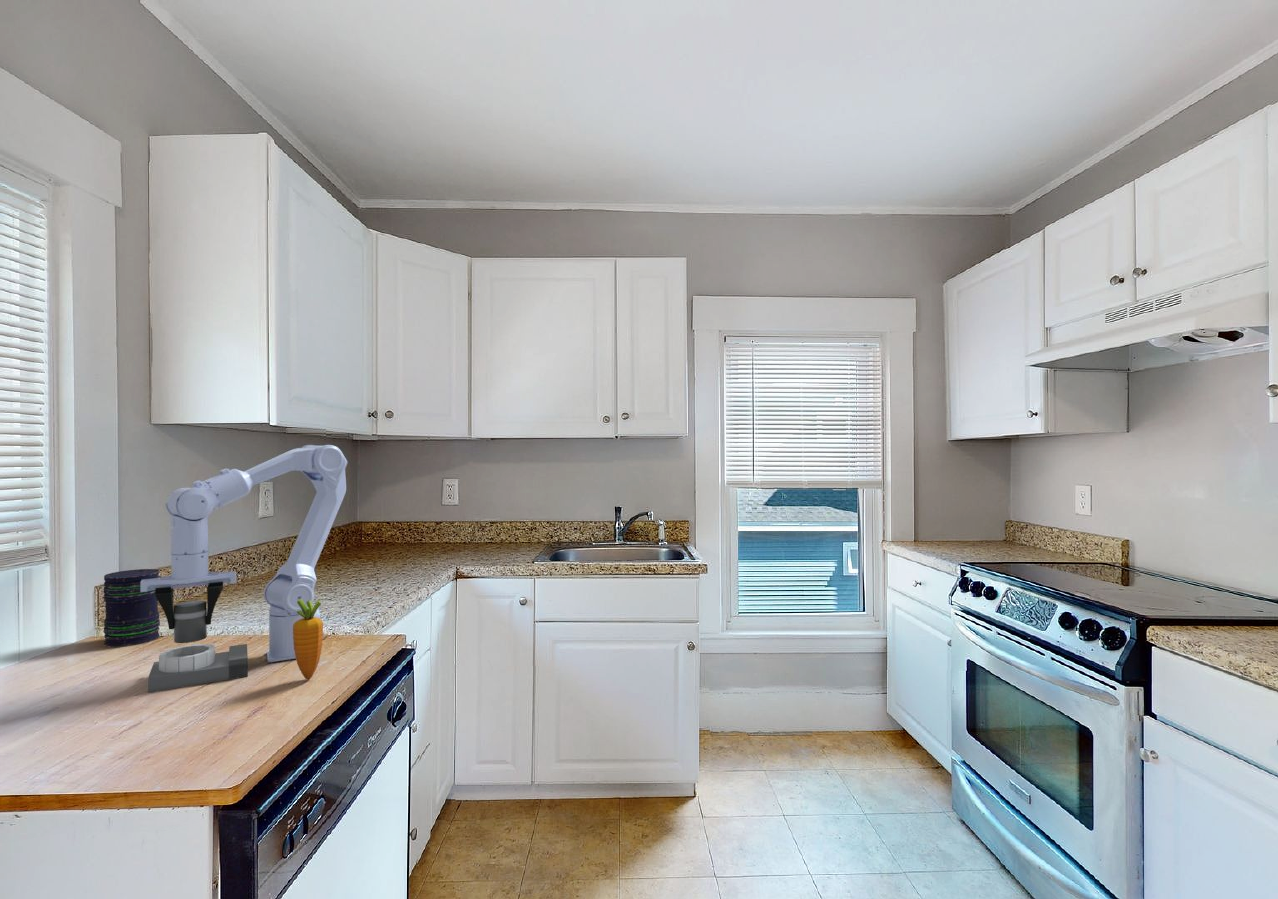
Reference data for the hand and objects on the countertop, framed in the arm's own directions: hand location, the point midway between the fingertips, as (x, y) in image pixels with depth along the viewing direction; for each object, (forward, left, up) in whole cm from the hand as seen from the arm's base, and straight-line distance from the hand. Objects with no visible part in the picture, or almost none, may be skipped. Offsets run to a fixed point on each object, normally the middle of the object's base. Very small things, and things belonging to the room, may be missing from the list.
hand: (190, 625), depth 120 cm
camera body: (-2, -1, -10) cm, 10 cm away
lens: (0, 0, -2) cm, 2 cm away
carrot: (-19, +12, -10) cm, 24 cm away
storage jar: (+12, -36, -10) cm, 39 cm away
